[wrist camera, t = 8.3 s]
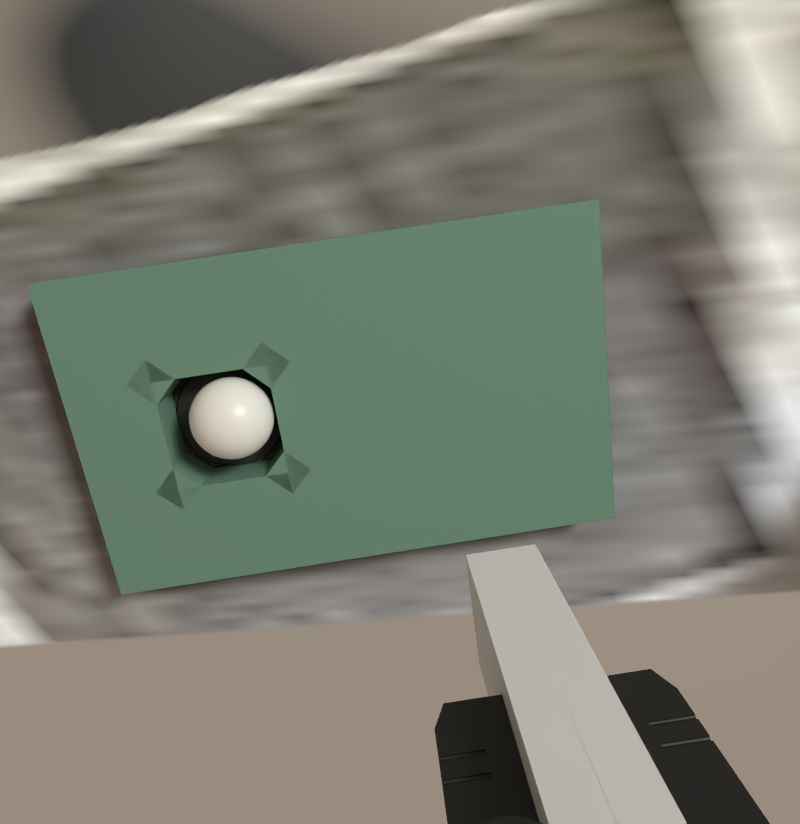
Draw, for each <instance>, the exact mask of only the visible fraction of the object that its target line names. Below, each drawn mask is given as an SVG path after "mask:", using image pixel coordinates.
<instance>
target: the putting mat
mask: <svg viewBox="0 0 800 824" xmlns="http://www.w3.org/2000/svg"><path fill="white" fill-rule="evenodd" d="M27 288H28V291H29V294H30V297H31V301H32V304H33V307H34V311H35V314H36V317H37V320H38V324H39V327H40V330H41V333H42V337H43V340H44V343H45V347H46V350H47V353H48V356H49V360H50V363H51V366H52V369H53V373H54V376H55V379H56V383H57V386H58V389H59V392H60V396H61V399H62V402H63V405H64V409H65V412H66V415H67V419H68V422H69V425H70V428H71V432H72V435H73V438H74V441H75V445H76V448H77V451H78V454H79V458H80V461H81V464H82V468H83V471H84V474H85V477H86V481H87V484H88V487H89V490H90V494H91V497H92V500H93V504H94V507H95V510H96V513H97V517H98V520H99V523H100V526H101V530H102V533H103V536H104V540H105V543H106V546H107V549H108V553H109V556H110V559H111V562H112V566H113V569H114V572H115V576H116V579H117V582H118V585H119V589H120V592H121V595H123V594H130V593H136V592H142V591H149V590H155V589H162V588H168V587H175V586H181V585H187V584H194V583H200V582H207V581H213V580H220V579H226V578H232V577H239V576H245V575H252V574H258V573H265V572H271V571H277V570H284V569H290V568H297V567H303V566H310V565H316V564H322V563H329V562H335V561H342V560H348V559H355V558H361V557H367V556H374V555H380V554H387V553H393V552H400V551H406V550H412V549H419V548H425V547H432V546H438V545H445V544H451V543H457V542H464V541H470V540H477V539H483V538H490V537H496V536H503V535H509V534H515V533H522V532H528V531H535V530H541V529H548V528H554V527H560V526H567V525H573V524H580V523H586V522H593V521H599V520H605V519H612V518H615V511H614V491H613V471H612V451H611V431H610V411H609V391H608V371H607V351H606V331H605V311H604V291H603V271H602V251H601V231H600V211H599V199H596V200H589V201H582V202H575V203H568V204H562V205H555V206H548V207H541V208H535V209H528V210H521V211H514V212H508V213H501V214H494V215H487V216H481V217H474V218H467V219H460V220H454V221H447V222H440V223H434V224H427V225H420V226H413V227H407V228H400V229H393V230H386V231H380V232H373V233H366V234H359V235H353V236H346V237H339V238H332V239H326V240H319V241H312V242H306V243H299V244H292V245H285V246H279V247H272V248H265V249H258V250H252V251H245V252H238V253H231V254H225V255H218V256H211V257H204V258H198V259H191V260H184V261H177V262H171V263H164V264H157V265H151V266H144V267H137V268H130V269H124V270H117V271H110V272H103V273H97V274H90V275H83V276H76V277H70V278H63V279H56V280H50V281H43V282H36V283H30V284H27ZM192 376H194V377H193V378H192V379H191V380H190V381H189V382H188V384H187V385H186V386H185V388H184V389H183V391H182V393H181V396H180V398H179V402H178V410H177V411H176V407H175V403H174V399H173V395H172V392H173V391H174V389H175V388H176V386H177V385H178V383H179V382H180V380H181V379H182V378H186V377H192ZM225 377H238V378H243V379H246V380H249V381H251V382H253V383H255V384H256V385H258V386H259V387H260V388H261V389H262V390H263V391H264V392H265V393H266V394H267V396H268V398H269V399H270V401H271V403H272V407H273V411H274V426H273V430H272V432H271V435H270V437H269V439H268V440H267V442H266V443H265V444H264V445H263V446H262V447H261V448H260V449H259V450H258V451H257V452H255V453H253V454H252V455H249V456H247V457H244V458H240V459H223V458H219V457H216V456H213V455H211V454H210V453H208V452H206V451H205V450H204V449H203V448H202V447H201V446H200V445H199V444H198V443H197V442H196V440H195V439H194V437H193V435H192V432H191V429H190V425H189V411H190V407H191V404H192V402H193V400H194V398H195V396H196V395H197V393H198V392H199V391H200V390H201V389H202V388H203V387H204V386H206V385H207V384H209V383H210V382H212V381H214V380H217V379H220V378H225ZM177 414H178V415H177ZM280 434H281V439H282V444H283V446H282V447H281V448H280V450H279V451H278V453H277V454H276V455H275V457H274V458H273V459H268V460H262V461H255V460H257V459H259V458H261V457H262V456H264V455H265V454H266V453H268V452H269V451H270V450H271V449H272V447H273V446H274V445H275V443H276V442H277V440H278V438H279V436H280ZM183 436H184V438H185V439H186V441H187V442H188V443H189V445H190V446H191V447H192V448H193V449H194V450H195V451H196V452H198V453H199V454H200V455H202V456H203V457H205V458H207V459H209V460H211V461H214V462H217V463H220V464H226V465H229V466H222V467H216V468H212V467H211V466H209V465H207V464H206V463H204V462H203V461H201V460H200V459H198V458H196V457H195V456H193V455H192V454H190V453H189V452H187V450H186V446H185V442H184V438H183ZM253 461H255V462H253Z"/></svg>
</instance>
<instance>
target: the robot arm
mask: <svg viewBox="0 0 800 824" xmlns="http://www.w3.org/2000/svg"><path fill="white" fill-rule="evenodd" d="M466 561H467V569H468V577H469V585H470V592H471V600H472V608H473V616H474V624H475V632H476V640H477V647H478V655H479V663H480V666H481V671H482V674H483V678H484V682H485V686H486V690H487V693H488V697H482V698H476V699H469V700H463V701H456V702H451V703H444V704H443V707H442V710H441V713H440V715H439V718H438V721H437V724H436V727H435V734H436V742H437V749H438V756H439V764H440V771H441V778H442V784H443V793H444V799H445V807H446V815H447V822H448V824H770V823H769V822H768V820H767V819H766V817H765V816H764V815H763V813H762V812H761V810H760V809H759V807H758V806H757V804H756V803H755V801H754V800H753V798H752V797H751V796H750V795H749V793H748V791H747V790H746V788H745V787H744V785H743V784H742V782H741V781H740V780H739V778H738V777H737V775H736V774H735V772H734V771H733V769H732V768H731V766H730V765H729V763H728V762H727V761H726V759H725V758H724V756H723V755H722V753H721V752H720V750H719V749H718V747H717V746H716V744H715V743H714V742H713V741H711V740H710V737H709V734H708V733H707V731H706V730H705V728H704V727H703V725H702V724H701V723H700V721H699V720H698V719H696V717H695V714H694V712H693V711H692V709H691V708H690V707H689V705H688V704H687V702H686V701H685V699H684V698H683V696H682V695H681V694H680V692H679V690H678V689H677V688H676V687H674V686H673V685H672V684H670V683H669V682H668V681H666V680H665V679H663V678H662V677H661V676H659V675H658V674H657V673H655V672H654V671H652V670H651V669H648V670H641V671H635V672H629V673H622V674H615V675H609V676H607V675H606V674H605V672H604V670H603V668H602V666H601V664H600V663H599V661H598V659H597V657H596V655H595V653H594V651H593V650H592V648H591V646H590V644H589V642H588V641H587V639H586V637H585V635H584V633H583V632H582V629H581V628H580V626H579V624H578V622H577V621H576V619H575V617H574V615H573V613H572V611H571V609H570V607H569V606H568V604H567V602H566V600H565V598H564V596H563V595H562V593H561V591H560V589H559V587H558V585H557V583H556V582H555V580H554V578H553V576H552V574H551V572H550V571H549V569H548V567H547V565H546V563H545V561H544V560H543V558H542V556H541V554H540V552H539V550H538V549H537V547H536V545H535V544H534V545H528V546H521V547H515V548H508V549H502V550H495V551H489V552H482V553H476V554H469V555H466Z"/></svg>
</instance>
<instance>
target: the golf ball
mask: <svg viewBox="0 0 800 824" xmlns="http://www.w3.org/2000/svg"><path fill="white" fill-rule="evenodd" d="M189 425H190V429H191V432H192V435H193V437H194V439H195V440H196V442H197V443H198V444H199V445H200V446H201V447H202V448H203V449H204V450H205V451H206V452H208V453H210V454H211V455H213V456H216V457H219V458H223V459H240V458H244V457H247V456H249V455H252V454H253V453H255V452H257V451H258V450H259V449H260V448H261V447H262V446H263V445H264V444H265V443H266V442H267V440H268V439H269V437H270V435H271V432H272V430H273V426H274V411H273V407H272V403H271V401H270V399H269V398H268V396H267V394H266V393H265V392H264V391H263V390H262V389H261V388H260V387H259V386H258V385H256V384H255V383H253V382H251V381H249V380H246V379H243V378H238V377H225V378H220V379H217V380H214V381H212V382H210V383H209V384H207V385H206V386H204V387H203V388H202V389H201V390H200V391H199V392H198V393H197V395H196V396H195V398H194V400H193V402H192V404H191V407H190V411H189Z"/></svg>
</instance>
